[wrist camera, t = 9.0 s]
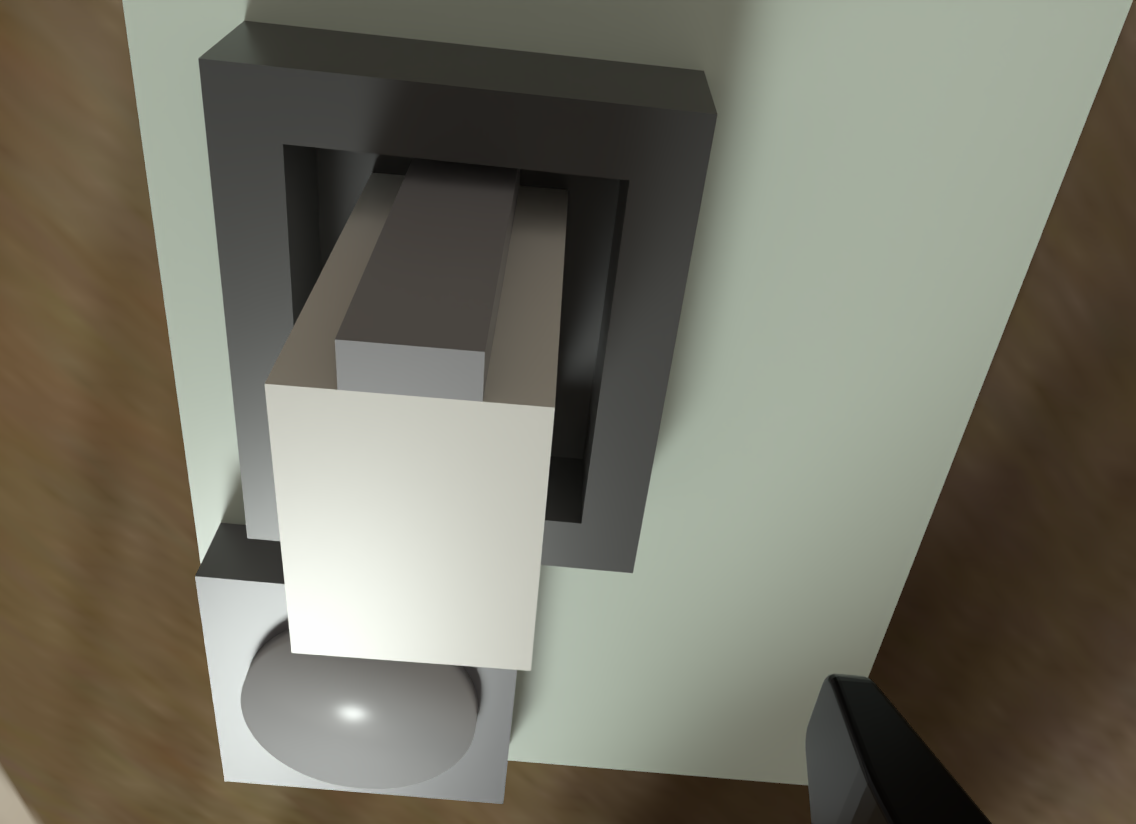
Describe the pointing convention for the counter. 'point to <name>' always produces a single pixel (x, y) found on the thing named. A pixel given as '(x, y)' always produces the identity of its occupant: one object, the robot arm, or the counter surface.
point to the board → (618, 339)
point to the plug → (422, 421)
